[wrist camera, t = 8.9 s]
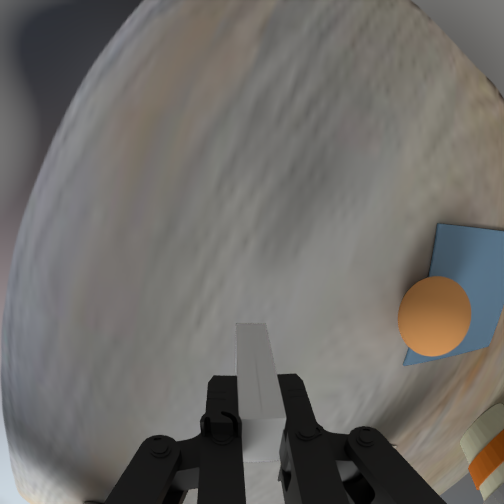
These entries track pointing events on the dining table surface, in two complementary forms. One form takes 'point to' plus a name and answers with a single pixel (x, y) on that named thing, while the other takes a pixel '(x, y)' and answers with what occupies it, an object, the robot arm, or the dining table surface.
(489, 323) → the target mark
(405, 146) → the dining table surface
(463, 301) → the ball
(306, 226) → the dining table surface
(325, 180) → the dining table surface
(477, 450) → the reusable coffee cup
